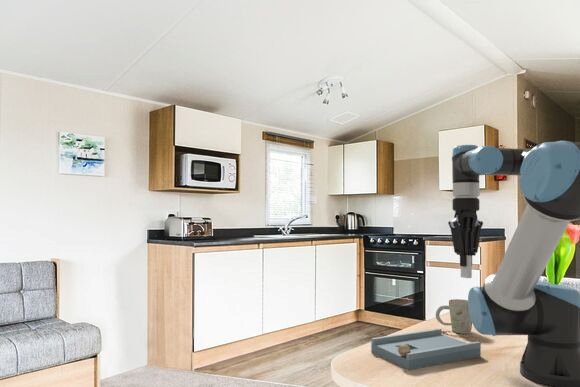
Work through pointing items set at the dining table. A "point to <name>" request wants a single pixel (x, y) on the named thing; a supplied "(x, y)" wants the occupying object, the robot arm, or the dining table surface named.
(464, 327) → the mug
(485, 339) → the dining table surface
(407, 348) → the cork ball
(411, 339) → the plate
